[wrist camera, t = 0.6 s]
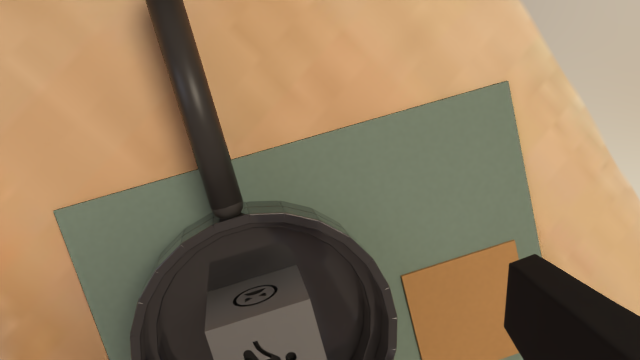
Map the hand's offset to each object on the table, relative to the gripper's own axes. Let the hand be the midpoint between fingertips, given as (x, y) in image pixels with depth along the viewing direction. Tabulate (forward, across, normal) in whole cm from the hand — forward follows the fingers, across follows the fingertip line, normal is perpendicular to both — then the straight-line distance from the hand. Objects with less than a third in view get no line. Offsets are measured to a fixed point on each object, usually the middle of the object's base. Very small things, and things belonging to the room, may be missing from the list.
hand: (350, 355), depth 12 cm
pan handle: (+19, +1, +4) cm, 19 cm away
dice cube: (+15, +1, +15) cm, 21 cm away
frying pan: (+15, +1, +15) cm, 22 cm away
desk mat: (+15, -3, +15) cm, 21 cm away
